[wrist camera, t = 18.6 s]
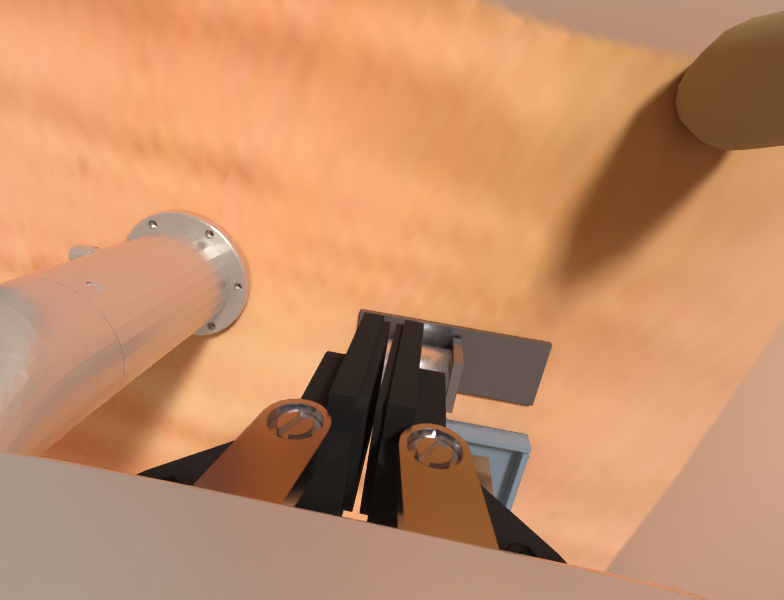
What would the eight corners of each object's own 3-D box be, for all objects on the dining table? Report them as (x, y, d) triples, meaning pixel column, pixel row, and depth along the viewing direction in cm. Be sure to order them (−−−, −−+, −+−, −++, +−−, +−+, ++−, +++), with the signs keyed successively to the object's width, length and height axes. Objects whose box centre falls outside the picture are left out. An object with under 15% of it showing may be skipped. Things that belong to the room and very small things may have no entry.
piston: (364, 369, 42) (356, 395, 38) (371, 323, 40) (362, 345, 36) (450, 385, 42) (451, 413, 38) (461, 339, 40) (463, 363, 36)
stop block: (439, 480, 47) (439, 527, 41) (447, 449, 45) (447, 493, 40) (479, 488, 47) (484, 536, 41) (488, 457, 45) (495, 502, 39)
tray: (406, 492, 49) (404, 508, 47) (422, 414, 45) (421, 427, 42) (501, 511, 48) (504, 528, 46) (527, 434, 44) (531, 449, 42)
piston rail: (353, 370, 44) (352, 372, 43) (361, 308, 41) (360, 310, 40) (531, 402, 43) (532, 405, 42) (550, 342, 40) (552, 344, 39)
